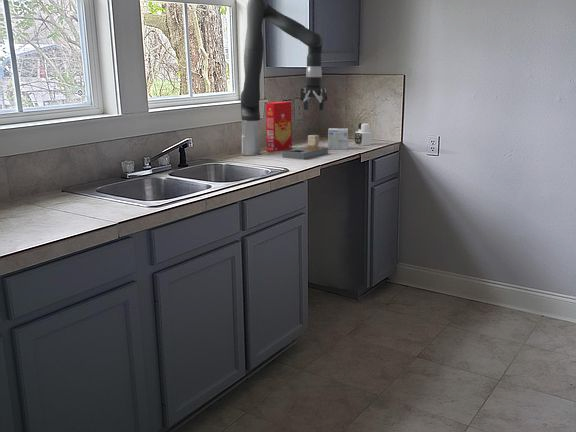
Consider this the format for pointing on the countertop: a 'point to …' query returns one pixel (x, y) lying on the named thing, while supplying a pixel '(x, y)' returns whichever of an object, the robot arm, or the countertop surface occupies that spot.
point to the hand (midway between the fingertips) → (313, 110)
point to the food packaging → (278, 126)
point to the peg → (313, 141)
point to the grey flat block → (305, 152)
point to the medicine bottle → (363, 135)
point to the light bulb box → (338, 138)
